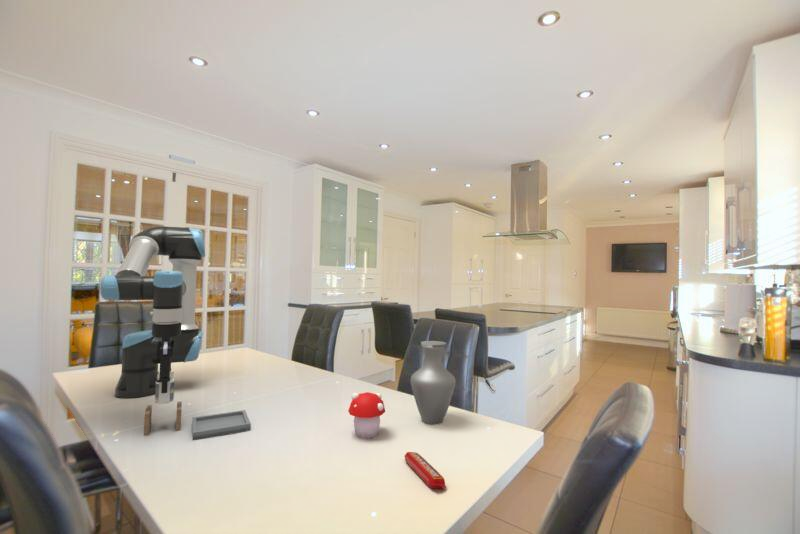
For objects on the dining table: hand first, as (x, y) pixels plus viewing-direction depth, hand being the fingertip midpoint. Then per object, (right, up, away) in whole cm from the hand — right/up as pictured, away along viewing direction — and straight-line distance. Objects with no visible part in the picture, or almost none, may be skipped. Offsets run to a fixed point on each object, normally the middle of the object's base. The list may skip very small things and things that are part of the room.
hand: (164, 400), depth 114 cm
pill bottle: (0, -1, 0) cm, 1 cm away
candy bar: (+76, -9, -25) cm, 80 cm away
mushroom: (+61, -9, -3) cm, 61 cm away
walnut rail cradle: (0, -8, -1) cm, 8 cm away
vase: (+81, -10, +9) cm, 82 cm away
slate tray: (+17, -8, 0) cm, 18 cm away
